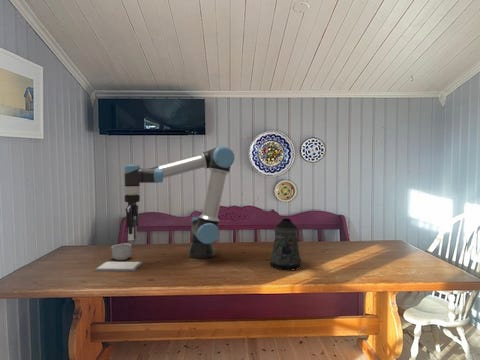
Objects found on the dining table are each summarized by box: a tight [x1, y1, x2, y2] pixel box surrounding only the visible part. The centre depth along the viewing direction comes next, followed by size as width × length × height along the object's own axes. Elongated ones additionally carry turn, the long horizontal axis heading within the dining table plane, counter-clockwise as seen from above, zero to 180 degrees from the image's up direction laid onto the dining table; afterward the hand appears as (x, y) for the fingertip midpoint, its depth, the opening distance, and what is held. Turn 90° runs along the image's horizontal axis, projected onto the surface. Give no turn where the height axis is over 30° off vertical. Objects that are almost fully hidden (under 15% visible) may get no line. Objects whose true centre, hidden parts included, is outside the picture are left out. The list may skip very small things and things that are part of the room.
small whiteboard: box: [94, 261, 143, 272], centre depth 183 cm, size 20×14×1 cm
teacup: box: [110, 242, 132, 261], centre depth 200 cm, size 14×11×8 cm
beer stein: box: [269, 218, 302, 271], centre depth 186 cm, size 16×19×25 cm
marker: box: [128, 216, 137, 243], centre depth 182 cm, size 4×4×13 cm
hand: (132, 239), depth 183 cm, fingers closed on marker, 4 cm apart
